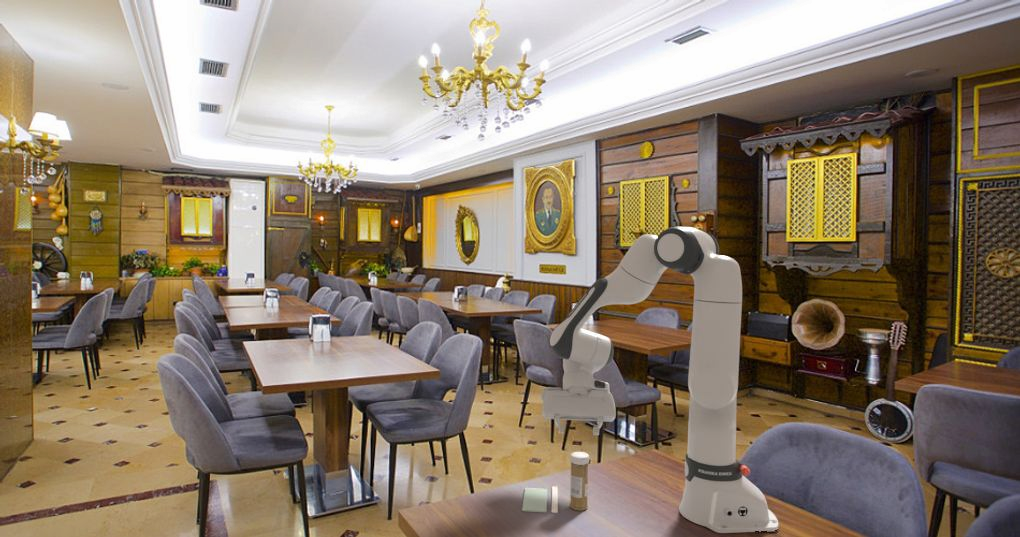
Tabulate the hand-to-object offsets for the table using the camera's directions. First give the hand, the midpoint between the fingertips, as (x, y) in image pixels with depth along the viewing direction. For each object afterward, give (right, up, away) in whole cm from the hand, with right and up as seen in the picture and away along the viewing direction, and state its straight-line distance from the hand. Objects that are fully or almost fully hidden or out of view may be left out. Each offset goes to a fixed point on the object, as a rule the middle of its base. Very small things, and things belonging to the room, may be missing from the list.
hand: (578, 433), depth 149 cm
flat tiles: (-10, -15, -5) cm, 19 cm away
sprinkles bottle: (-1, -16, -9) cm, 19 cm away
